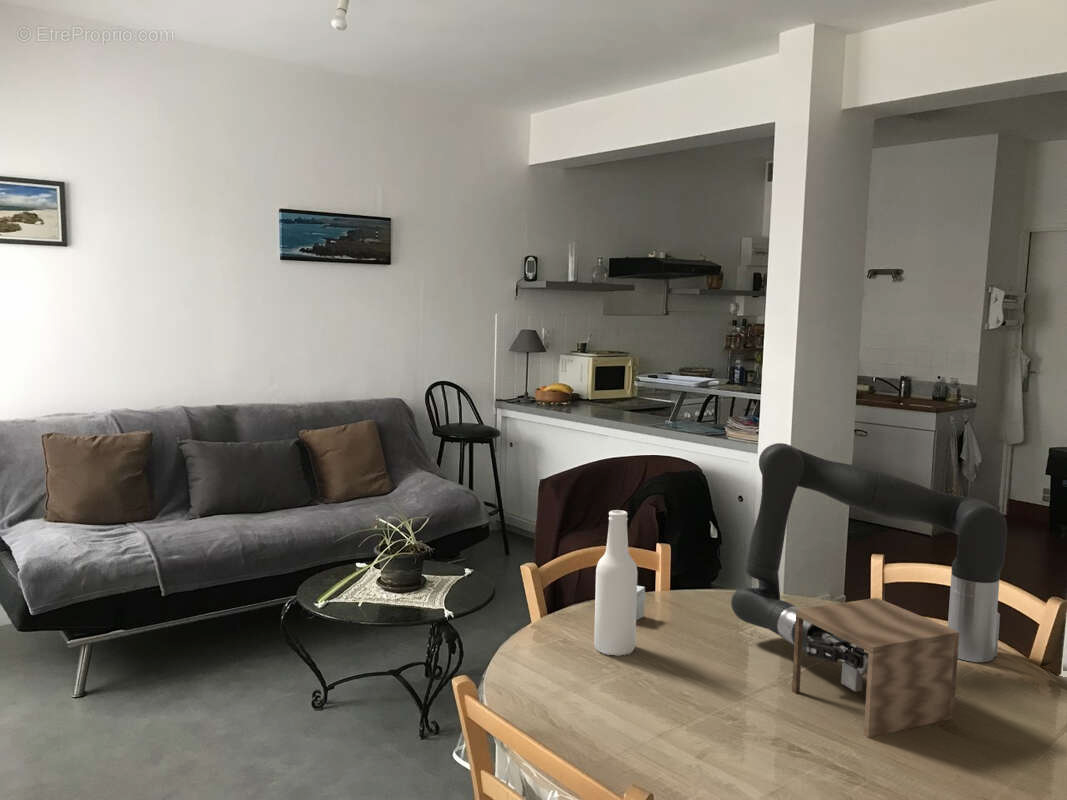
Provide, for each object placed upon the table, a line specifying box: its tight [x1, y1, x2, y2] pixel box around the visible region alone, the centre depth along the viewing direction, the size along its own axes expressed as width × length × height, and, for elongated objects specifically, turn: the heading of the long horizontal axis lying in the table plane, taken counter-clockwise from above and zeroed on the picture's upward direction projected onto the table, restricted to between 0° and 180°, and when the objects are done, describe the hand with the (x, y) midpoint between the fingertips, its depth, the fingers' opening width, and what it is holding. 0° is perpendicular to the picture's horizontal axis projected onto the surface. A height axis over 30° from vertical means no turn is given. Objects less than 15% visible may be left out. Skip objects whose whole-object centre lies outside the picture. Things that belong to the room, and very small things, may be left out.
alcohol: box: [593, 509, 639, 657], centre depth 192 cm, size 9×9×30 cm
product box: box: [636, 585, 646, 621], centre depth 212 cm, size 6×6×7 cm
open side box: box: [791, 597, 959, 738], centre depth 168 cm, size 20×20×16 cm
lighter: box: [840, 653, 869, 692], centre depth 171 cm, size 7×2×8 cm, turn 21°
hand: (866, 662), depth 169 cm, fingers closed on lighter, 1 cm apart
